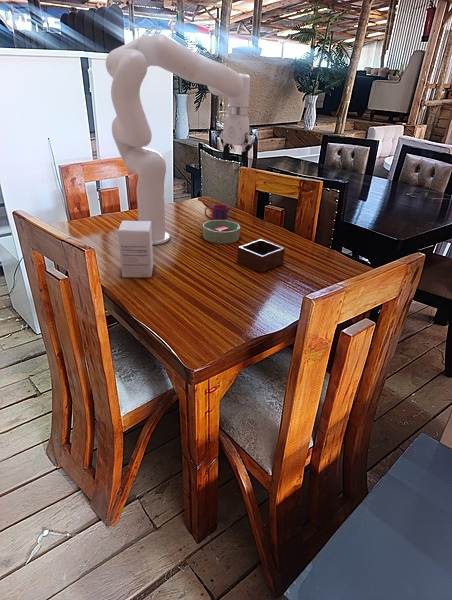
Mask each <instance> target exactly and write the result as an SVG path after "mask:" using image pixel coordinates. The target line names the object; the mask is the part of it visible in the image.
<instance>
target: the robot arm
mask: <svg viewBox="0 0 452 600" xmlns="http://www.w3.org/2000/svg"><path fill="white" fill-rule="evenodd" d="M149 67H158V68H161V69H163V70H164V71H167V72H169V73H170V74H173V75H175V76H177V77H179V78H181V79H182V80H184V81H186V82H190V83H193V84H199V85H203V86H206V87H207V90H208V92H210V93H211V94H212V95H214V96H216V97H226V98H228V103H227V107H226V111H227V114H226V115H225V118H224V123H223V128H222V129H223V131H222V132H221V133H219V135H218V136H219V140H220V144H221V147H222V158H223V159H228V158H230V157H231V156H230V155H231V147H230V146H231V145H232V146H233V145H234V146H240V147H241V149H242V150H241V155H240V162H241V163H247V162H248V159H249V152H250V151H251V149H252V148H253V145H254V143H255V138H253V137H252V136H251V134H250V118H249V104H250V89H251V76H250V75H249V74H246V73H239V72H237V71H236V70H234V69H232V68H230V67H229V66H227V65H225V64H223V63H221V62H219V61H217V60H214V59H211V58H210V57H209V58H208V57H207V56H204V55H202V54H199V53H197V52H195V51H194V50H192V49H190V48H188V47H186V46H185V45H183V44H181V43H179V42H178V41H176V40H175V39H173V38H171V37H169V36H167V35H166V34H162V33H153V34H145V35H142V36H140V37H137V38H135V39H133V40H131V41H129V42H127V43H125V44H123V45H120V46H118V47H116V48H113V49H112V50H111V51H110V52H109V53H107V55H106V58H105V68H106V71H107V73H108V75H109V76H110V77H111V78H112V82H111V88H110V98H111V102H112V107H113V108H114V112H115V115H116V116H115V117H114V119H113V120H112V123H111V135H112V138H113V140H114V143H115V145H116V147H117V148H116V149H117V150H118V152H119V155H120V157H121V160H122V162H123V164H124V166H125V167H126V168H127V170H128V171H130V172H131V173H133V174H135V175H138V179H137V184H136V204H137V217H138V218H137V219H138V220H137V221H151V230H152V246H153V245H155V246H156V245H163V244H166V243H167V242H169V240H170V235H169V233H167V232H166V211H165V210H166V209H165V208H166V207H165V181H166V180H165V179H166V173H167V163H166V160H165V158H164V156H163V155H162V154H161V153H160V152H158V151H157V150H155V149H152V148H148V147H147V146H149V145H150V143H151V141H152V137H153V136H152V130H151V127H150V124H149V121H148V117H147V115H146V112H145V110H144V106H143V104H142V99H141V95H140V93H141V92H140V91H141V86H142V83H143V81H144V79H145V77H146V75H147V73H148V68H149Z"/></svg>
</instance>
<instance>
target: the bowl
mask: <svg viewBox="0 0 452 600" xmlns="http://www.w3.org/2000/svg"><path fill="white" fill-rule="evenodd" d="M220 226H225V227H227V228H229V231H228V232H220V231H214V228H217V227H220ZM201 229H202V239H203V240H205V241H206V242H209V243H213V244H225V245H226V244H233V243H236V242H237V241H239V240H240V237H241V236H240V235H241V234H240V233H241V225H240V224H239V223H237V222H235V221H233V220H229V219H228V220H211V219H210V220H207V221H205V222H203V223H202V228H201Z"/></svg>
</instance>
